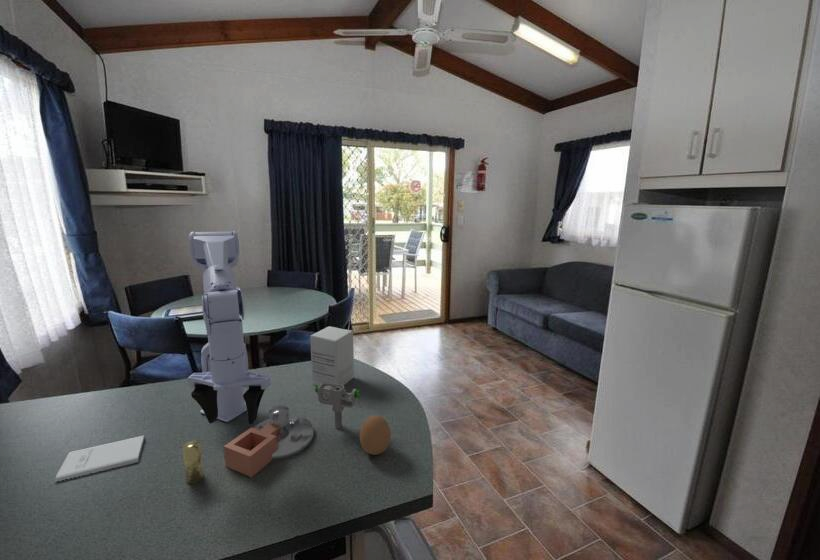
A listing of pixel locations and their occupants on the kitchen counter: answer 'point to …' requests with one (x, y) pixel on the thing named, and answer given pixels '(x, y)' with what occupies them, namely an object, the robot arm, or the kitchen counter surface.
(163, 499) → the kitchen counter surface
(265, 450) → the bracket
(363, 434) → the egg
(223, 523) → the kitchen counter surface
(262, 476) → the kitchen counter surface
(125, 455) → the external hard drive
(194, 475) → the gold capsule
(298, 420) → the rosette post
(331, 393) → the mechanical component
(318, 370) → the supplement box
